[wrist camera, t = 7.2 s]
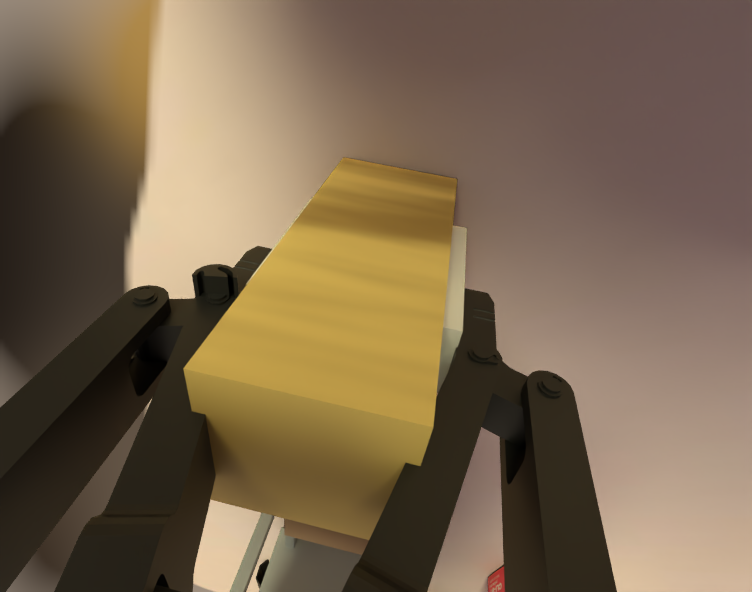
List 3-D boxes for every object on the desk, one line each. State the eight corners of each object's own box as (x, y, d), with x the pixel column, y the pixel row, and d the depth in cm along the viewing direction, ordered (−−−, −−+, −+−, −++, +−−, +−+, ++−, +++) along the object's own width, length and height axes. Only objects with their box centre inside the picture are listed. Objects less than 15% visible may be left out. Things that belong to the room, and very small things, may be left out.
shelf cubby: (280, 432, 32) (206, 604, 23) (429, 468, 31) (410, 660, 22) (281, 532, 41) (228, 681, 32) (396, 562, 40) (373, 723, 32)
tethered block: (332, 155, 19) (159, 363, 9) (469, 181, 19) (459, 433, 8) (312, 453, 32) (235, 675, 22) (391, 472, 32) (350, 707, 22)
